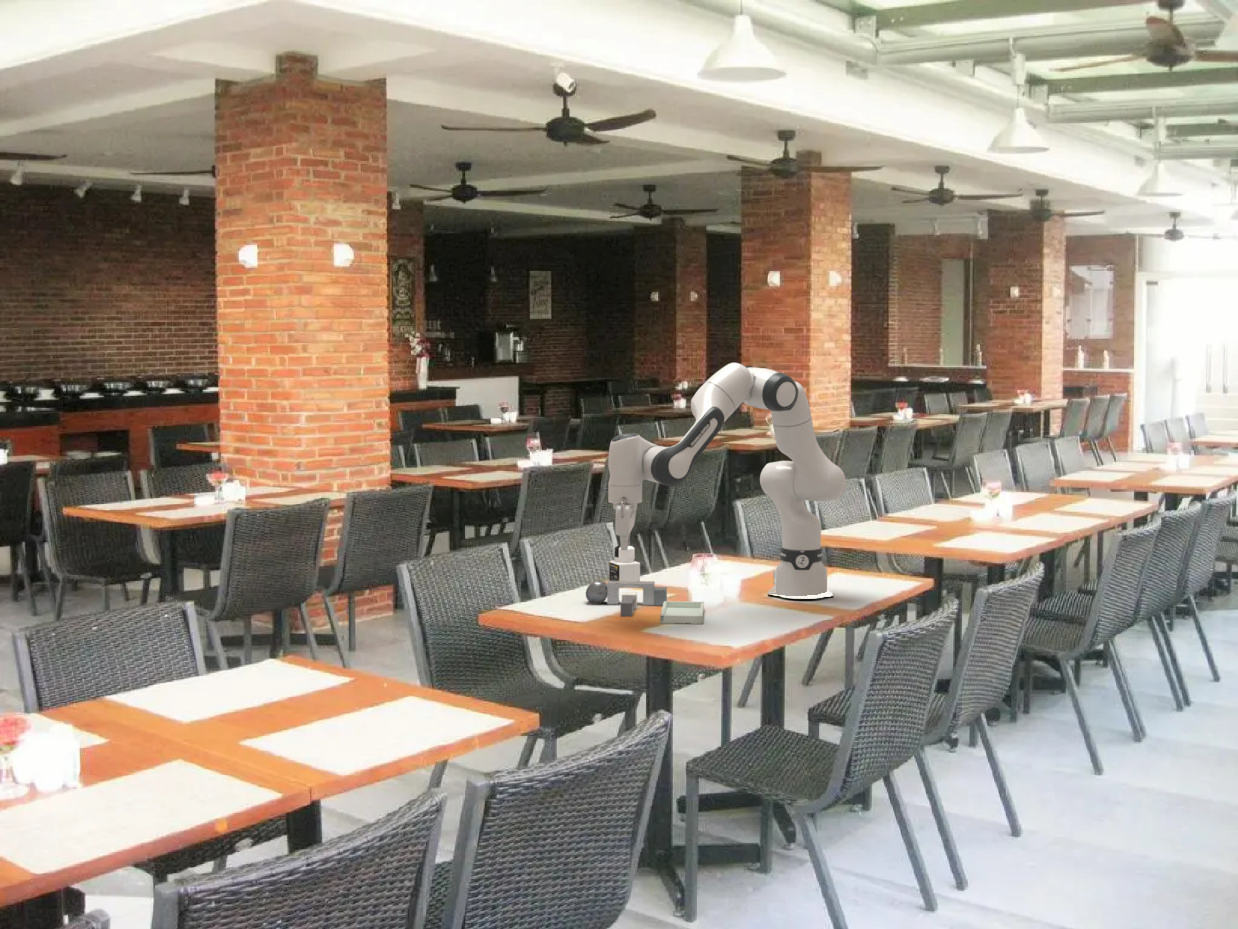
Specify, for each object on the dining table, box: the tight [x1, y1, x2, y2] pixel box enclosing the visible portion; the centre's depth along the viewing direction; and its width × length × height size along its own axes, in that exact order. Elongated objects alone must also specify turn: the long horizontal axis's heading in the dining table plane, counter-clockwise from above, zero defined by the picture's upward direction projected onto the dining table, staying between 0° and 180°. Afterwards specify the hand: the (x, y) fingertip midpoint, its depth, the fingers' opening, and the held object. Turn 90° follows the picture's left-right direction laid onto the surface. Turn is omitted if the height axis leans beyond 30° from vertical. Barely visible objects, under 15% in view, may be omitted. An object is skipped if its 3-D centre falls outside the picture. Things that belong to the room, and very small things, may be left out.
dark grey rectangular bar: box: [620, 591, 638, 617], centre depth 362 cm, size 14×4×4 cm, turn 175°
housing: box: [585, 579, 668, 607], centre depth 373 cm, size 5×22×6 cm, turn 85°
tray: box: [659, 600, 705, 625], centre depth 356 cm, size 20×11×2 cm, turn 175°
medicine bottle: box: [608, 544, 641, 581], centre depth 401 cm, size 7×7×12 cm
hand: (625, 548), depth 348 cm, fingers open, 5 cm apart
